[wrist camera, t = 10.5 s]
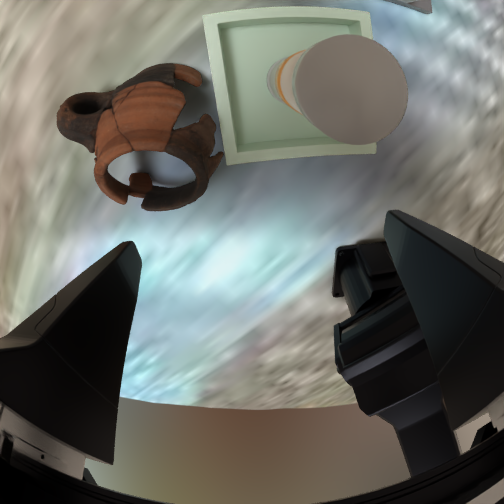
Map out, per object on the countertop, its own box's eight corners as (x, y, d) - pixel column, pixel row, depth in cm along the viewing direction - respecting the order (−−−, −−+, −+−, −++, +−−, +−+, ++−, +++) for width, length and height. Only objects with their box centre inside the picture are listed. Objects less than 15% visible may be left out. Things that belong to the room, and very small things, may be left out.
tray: (361, 143, 20) (376, 153, 17) (228, 154, 20) (226, 165, 18) (354, 18, 13) (369, 12, 11) (207, 23, 14) (202, 15, 12)
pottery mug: (244, 73, 17) (249, 150, 14) (199, 151, 25) (194, 229, 21) (86, 38, 12) (28, 109, 8) (77, 129, 19) (47, 205, 16)
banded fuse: (325, 92, 17) (420, 122, 7) (281, 112, 18) (330, 162, 8) (302, 50, 15) (380, 22, 5) (256, 70, 16) (275, 59, 6)
